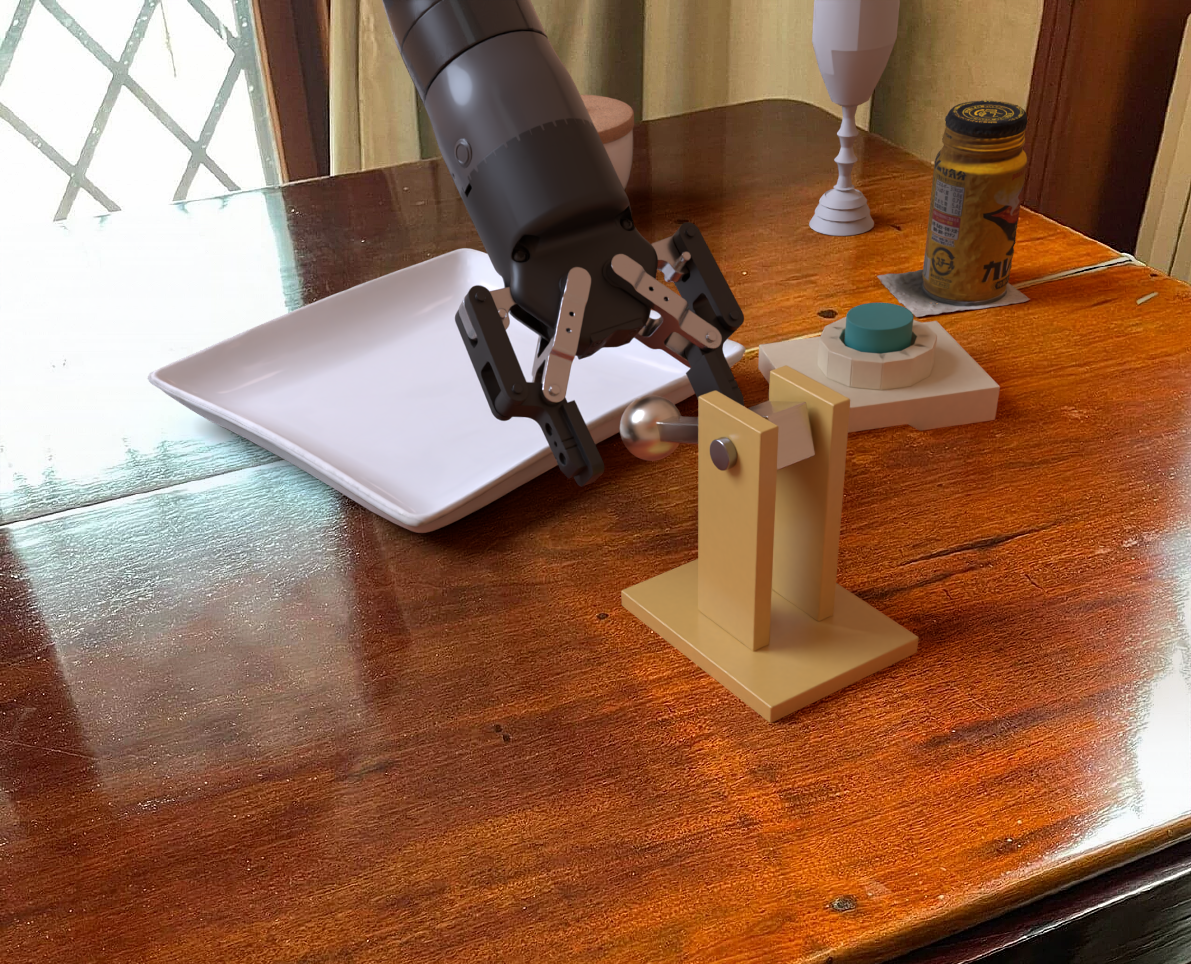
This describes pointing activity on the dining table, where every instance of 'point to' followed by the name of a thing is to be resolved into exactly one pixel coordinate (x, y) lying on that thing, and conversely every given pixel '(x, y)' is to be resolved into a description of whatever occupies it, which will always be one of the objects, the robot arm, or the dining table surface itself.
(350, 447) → the square plate
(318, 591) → the dining table surface
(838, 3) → the chalice
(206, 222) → the dining table surface
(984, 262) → the condiment
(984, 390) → the cream button base
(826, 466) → the lever stand
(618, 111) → the lidded sugar bowl
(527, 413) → the robot arm
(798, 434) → the tap lever
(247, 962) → the dining table surface
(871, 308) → the button
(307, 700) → the dining table surface
